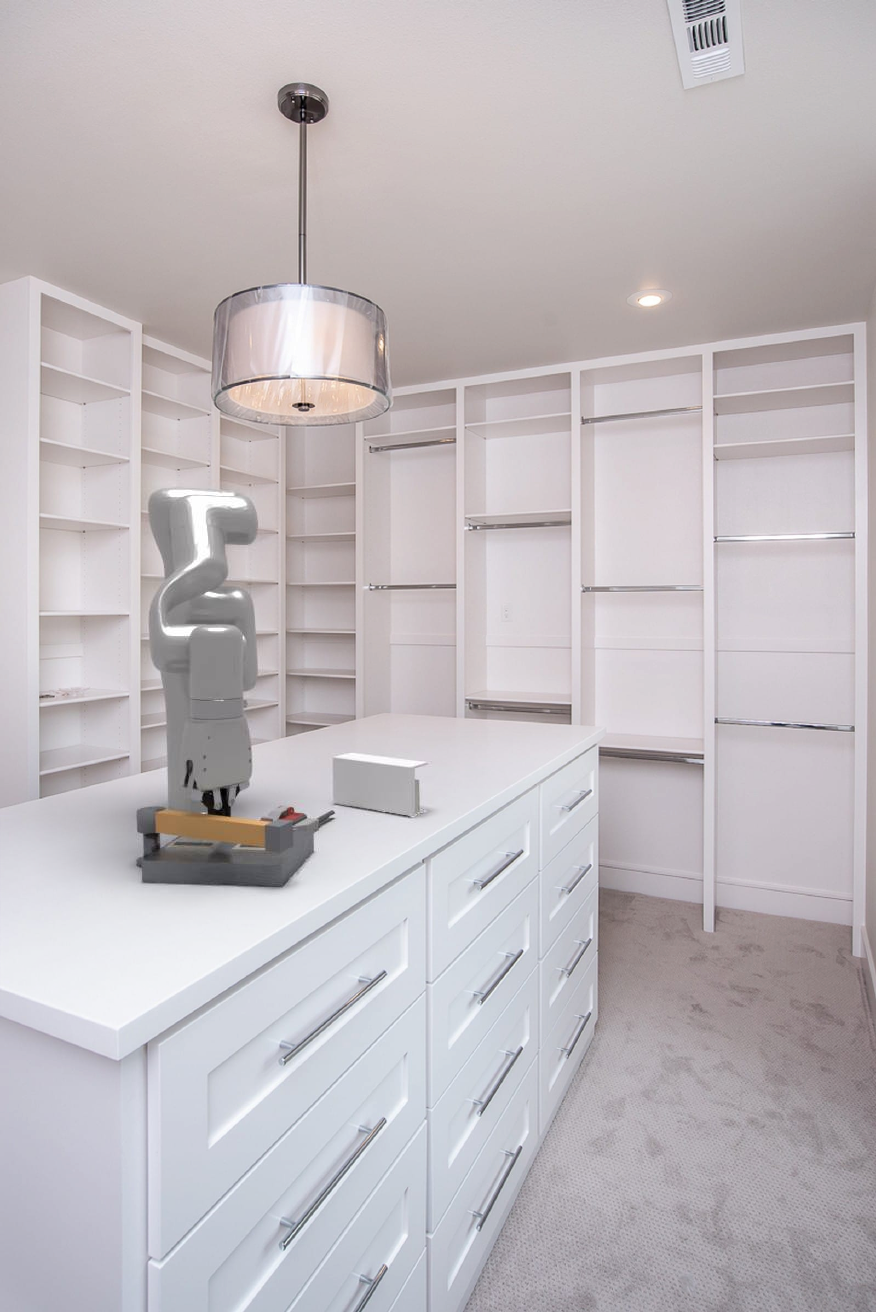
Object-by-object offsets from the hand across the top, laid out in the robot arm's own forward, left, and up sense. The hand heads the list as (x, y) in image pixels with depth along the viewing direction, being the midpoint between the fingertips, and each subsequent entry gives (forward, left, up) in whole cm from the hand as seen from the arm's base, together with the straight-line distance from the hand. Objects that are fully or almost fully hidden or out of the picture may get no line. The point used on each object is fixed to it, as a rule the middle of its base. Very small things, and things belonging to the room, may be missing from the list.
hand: (219, 833), depth 114 cm
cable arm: (+4, 0, 0) cm, 4 cm away
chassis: (+1, +2, -5) cm, 5 cm away
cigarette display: (-35, +17, -5) cm, 39 cm away
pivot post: (+1, -10, -5) cm, 11 cm away
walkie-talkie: (-18, +5, -5) cm, 19 cm away
